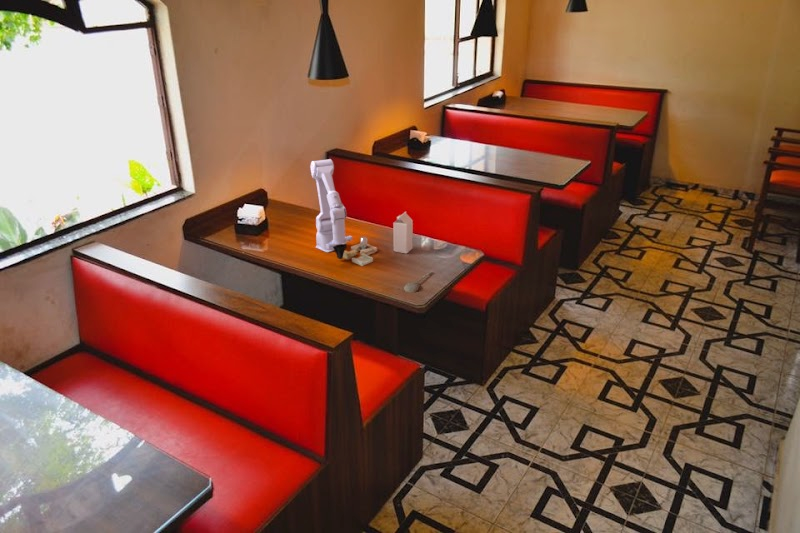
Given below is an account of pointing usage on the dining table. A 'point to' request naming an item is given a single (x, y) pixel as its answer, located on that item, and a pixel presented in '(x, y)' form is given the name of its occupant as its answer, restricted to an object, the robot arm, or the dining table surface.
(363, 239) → the peg
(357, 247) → the socket block
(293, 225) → the dining table surface
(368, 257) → the pad
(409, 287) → the soupspoon
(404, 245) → the milk carton
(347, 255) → the block
